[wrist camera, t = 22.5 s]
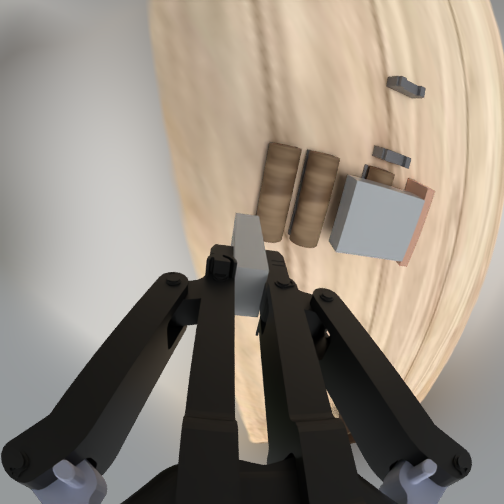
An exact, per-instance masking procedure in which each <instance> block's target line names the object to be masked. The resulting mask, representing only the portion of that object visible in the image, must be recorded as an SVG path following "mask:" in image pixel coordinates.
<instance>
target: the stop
mask: <svg viewBox="0 0 504 504" xmlns="http://www.w3.org/2000/svg"><path fill="white" fill-rule="evenodd" d="M405 191H408V192H411V193H413V194H415V195H417V196H418V197H420V198H422V199H423V200H425V202H424V205H423V208H422V211H421V214H420V217H419V220H418V222H417V225H416V228H415V231H414V233H413V236H412V238H411V241H410V243H409V246H408V248H407V251H406V253H405V256H404V258H403V260H402V262H401V261H396V262H397V263H398V264H399V266H406V267H407V265H408V263H409V260H410V258H411V256H412V253H413V251H414V249H415V246H416V244H417V241H418V239H419V236H420V233H421V231H422V228H423V225H424V223H425V220H426V217H427V214H428V211H429V209H430V206H431V203H432V199H433V196H434V193H435V191H434V190H432V189H431V188H429V187H427V186H425V185H423V184H421V183H419V182H417V181H415V180H412V179H409V178H408V180H407V184H406V187H405Z"/></svg>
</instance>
